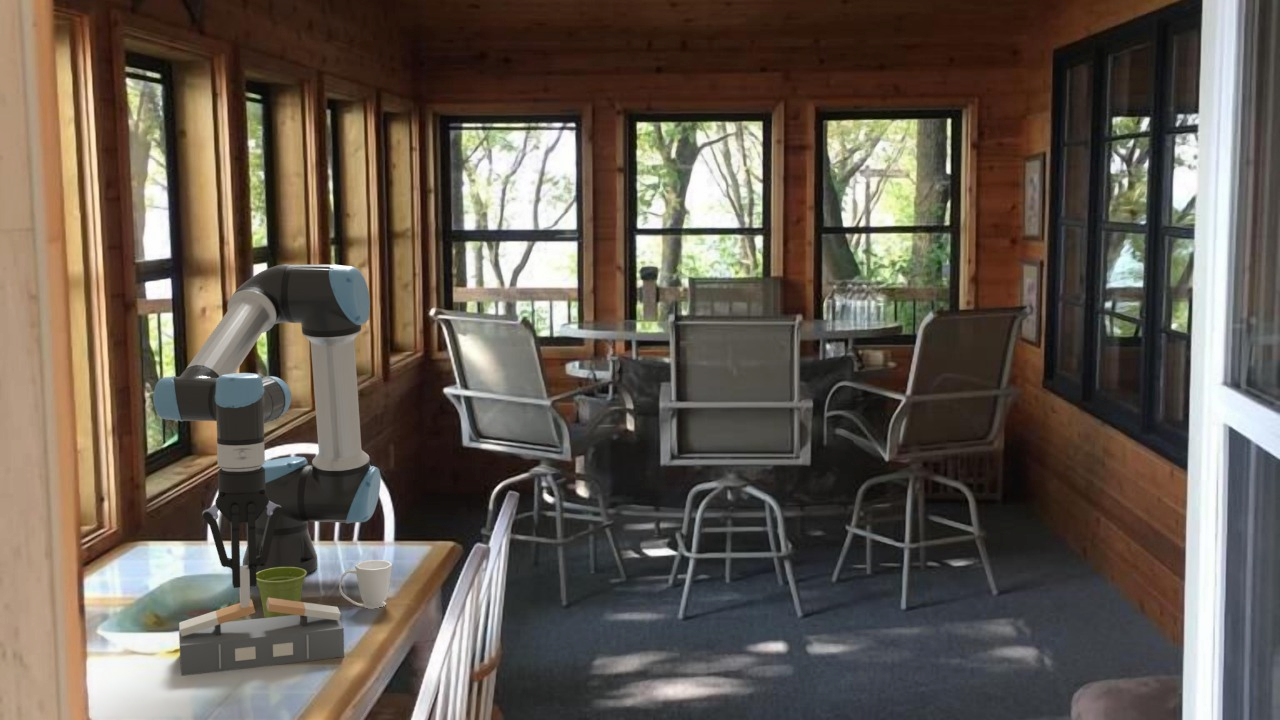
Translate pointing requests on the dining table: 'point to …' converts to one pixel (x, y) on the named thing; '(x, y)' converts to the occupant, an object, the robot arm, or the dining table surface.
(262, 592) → the plant pot
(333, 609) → the rocker
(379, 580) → the cup
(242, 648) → the switch unit
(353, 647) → the dining table surface
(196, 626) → the rocker
